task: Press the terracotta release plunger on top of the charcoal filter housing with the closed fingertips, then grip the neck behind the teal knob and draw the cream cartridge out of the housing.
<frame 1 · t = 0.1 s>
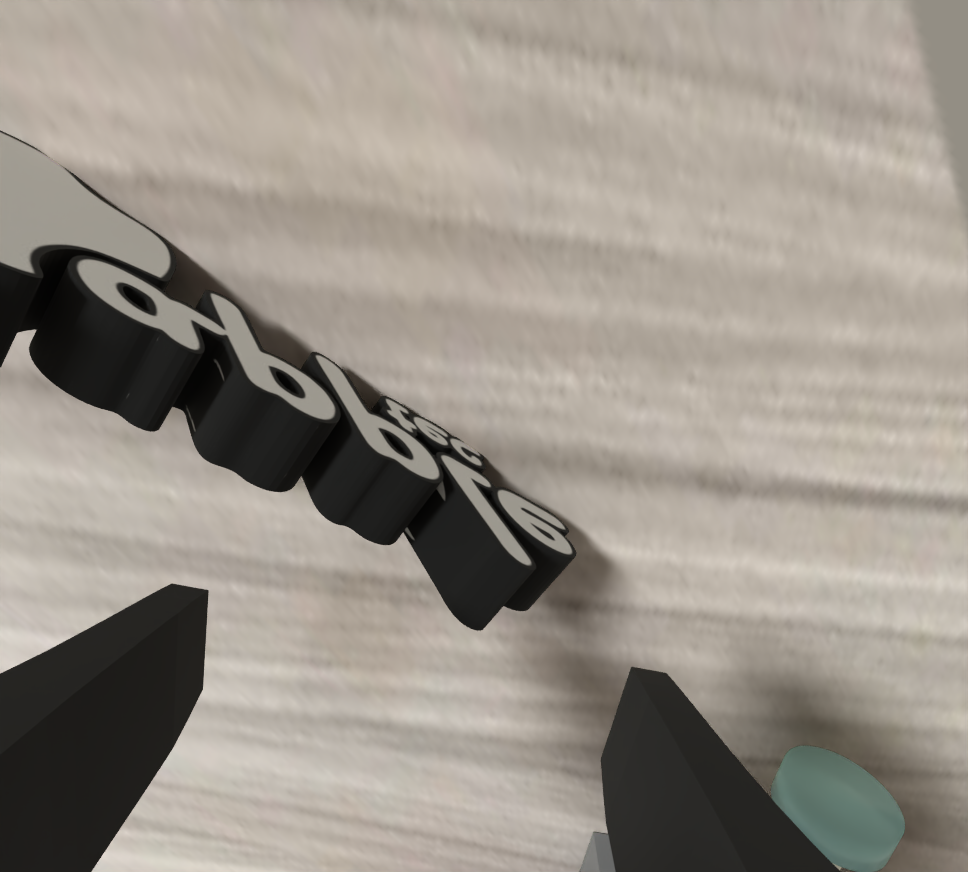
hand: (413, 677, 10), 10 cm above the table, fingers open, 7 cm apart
logo: (275, 349, 19), on the table
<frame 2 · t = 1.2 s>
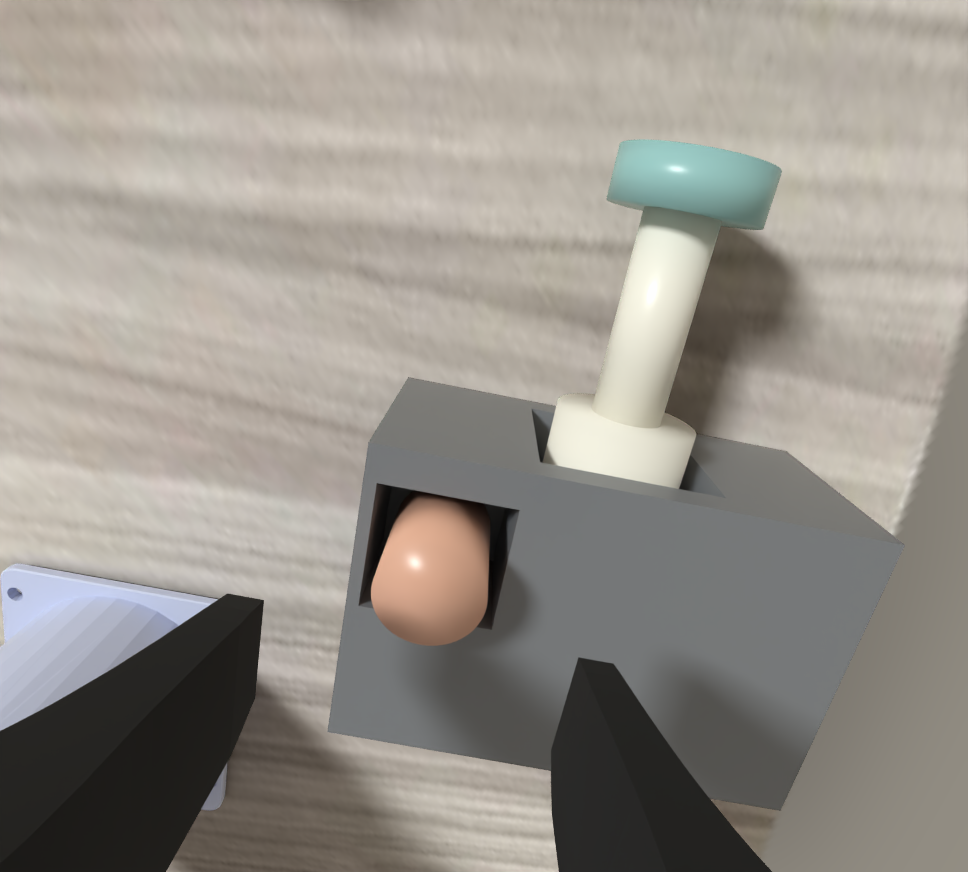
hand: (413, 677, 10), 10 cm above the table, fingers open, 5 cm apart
cartridge: (616, 447, 16), point 3 cm above the table, slide at 0.0 cm
plunger: (436, 557, 14), point 6 cm above the table, slide at 0.0 cm
housing: (569, 528, 20), on the table
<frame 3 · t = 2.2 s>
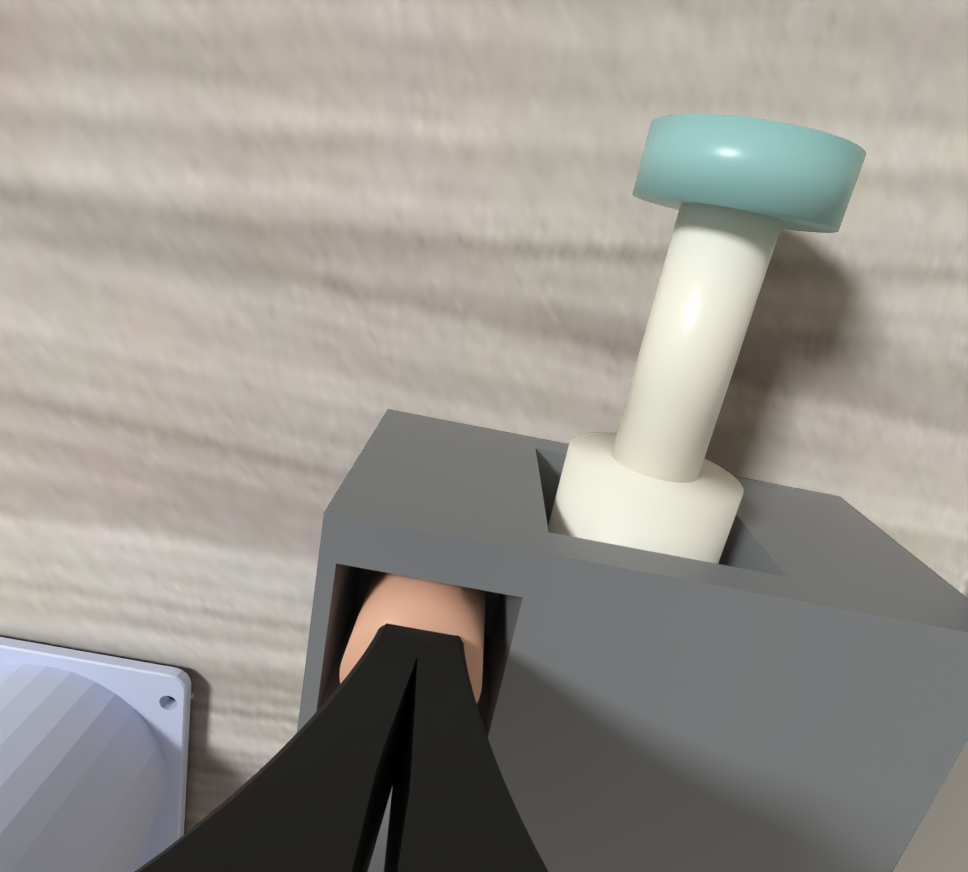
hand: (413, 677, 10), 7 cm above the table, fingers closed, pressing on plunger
cartridge: (642, 502, 13), point 3 cm above the table, slide at 0.0 cm
plunger: (422, 623, 12), point 5 cm above the table, slide at 0.9 cm, touching gripper
housing: (579, 585, 17), on the table
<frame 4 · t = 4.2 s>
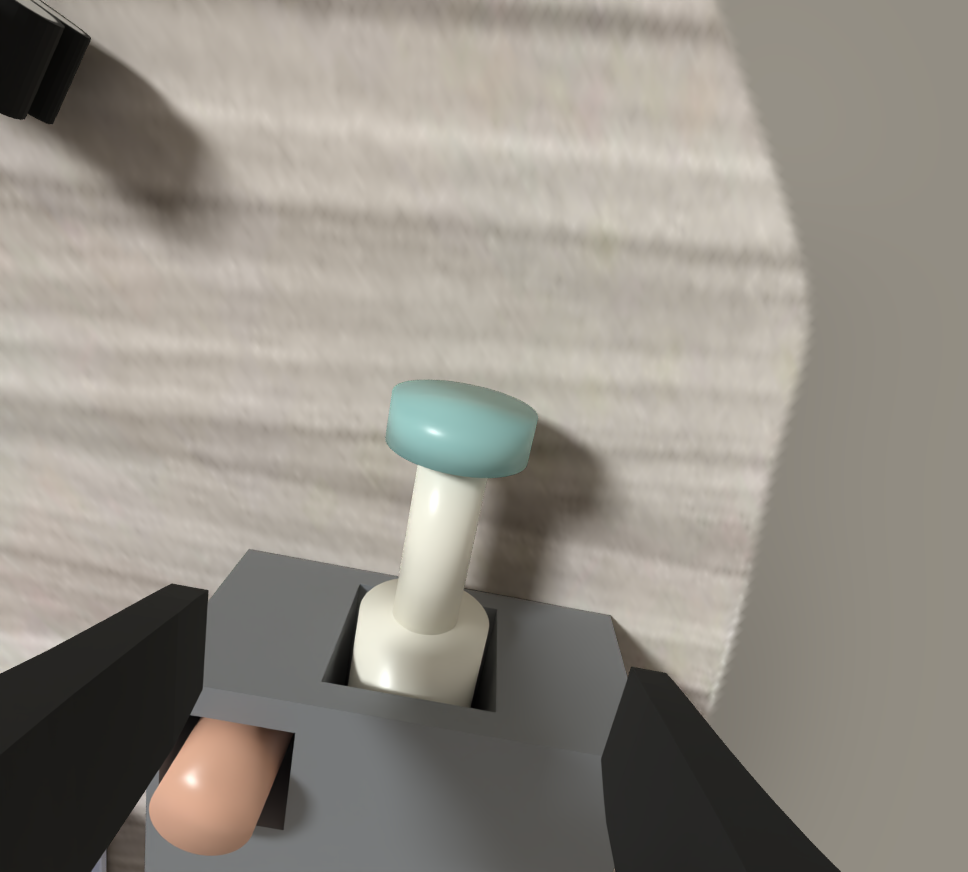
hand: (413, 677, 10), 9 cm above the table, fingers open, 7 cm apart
cartridge: (420, 640, 17), point 3 cm above the table, slide at 0.0 cm
plunger: (230, 759, 16), point 6 cm above the table, slide at 0.3 cm
housing: (412, 680, 22), on the table
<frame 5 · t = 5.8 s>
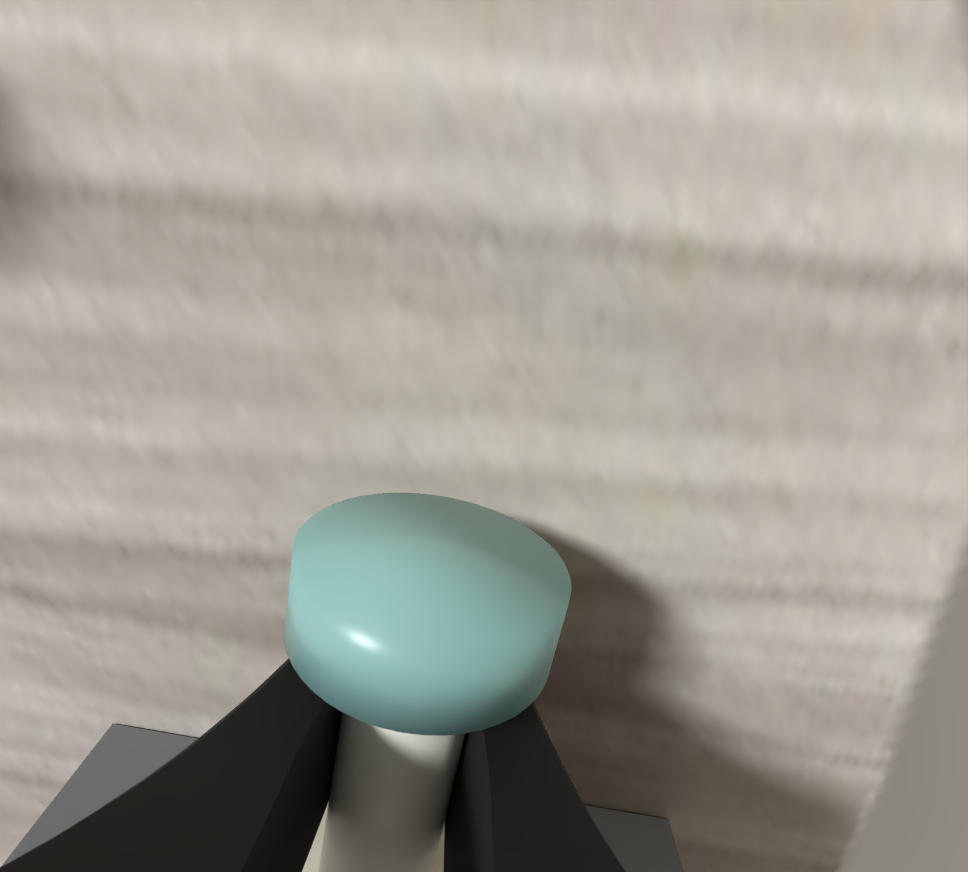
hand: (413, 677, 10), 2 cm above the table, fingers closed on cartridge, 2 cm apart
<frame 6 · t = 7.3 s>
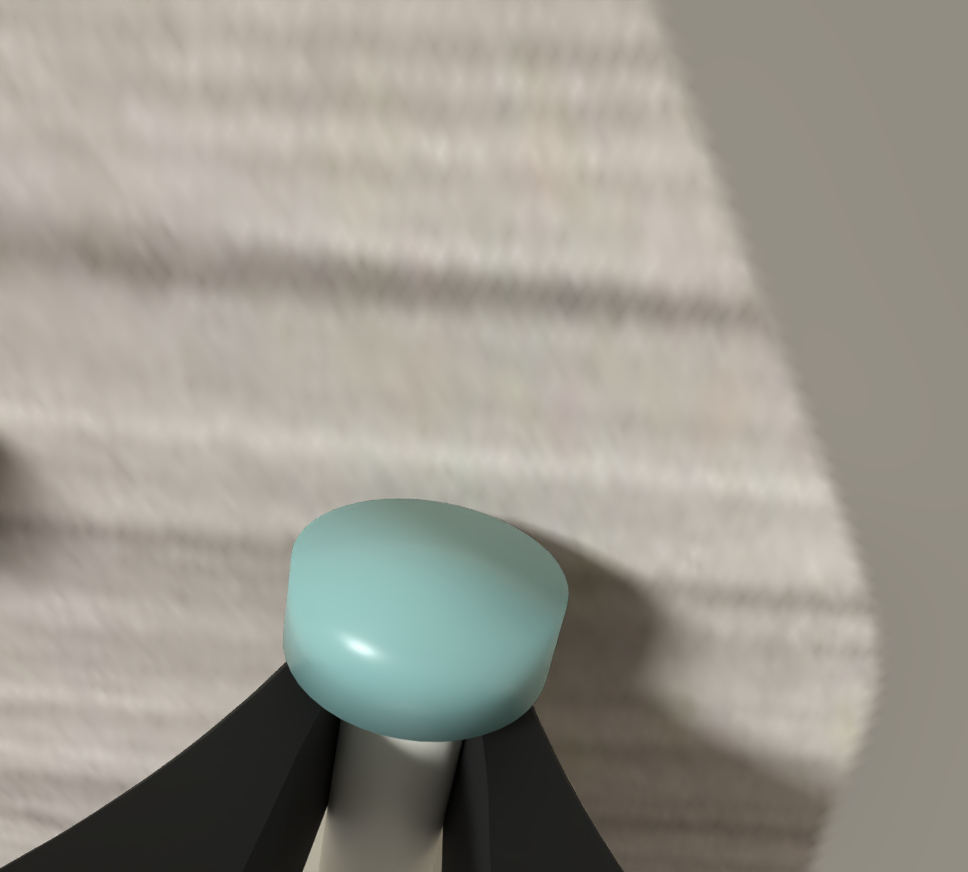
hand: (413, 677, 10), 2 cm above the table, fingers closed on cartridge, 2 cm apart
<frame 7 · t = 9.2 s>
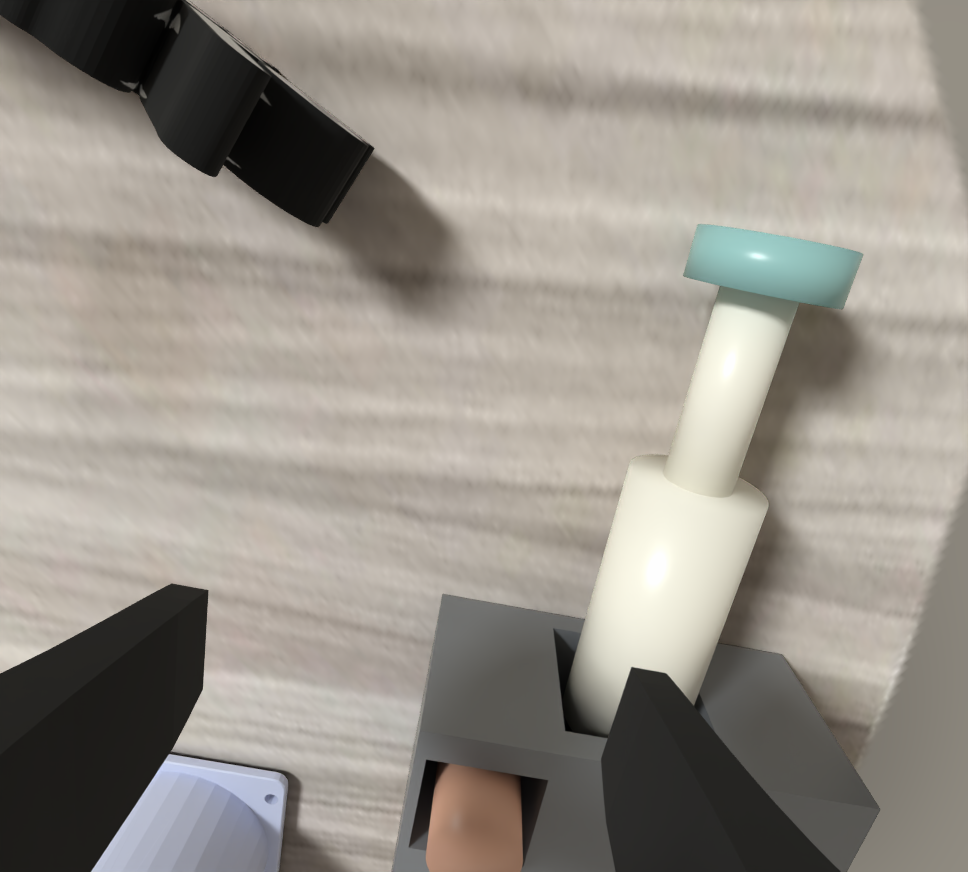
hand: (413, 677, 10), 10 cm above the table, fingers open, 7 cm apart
cartridge: (687, 512, 17), point 3 cm above the table, slide at 5.9 cm
plunger: (477, 802, 17), point 6 cm above the table, slide at 0.3 cm
housing: (586, 714, 23), on the table
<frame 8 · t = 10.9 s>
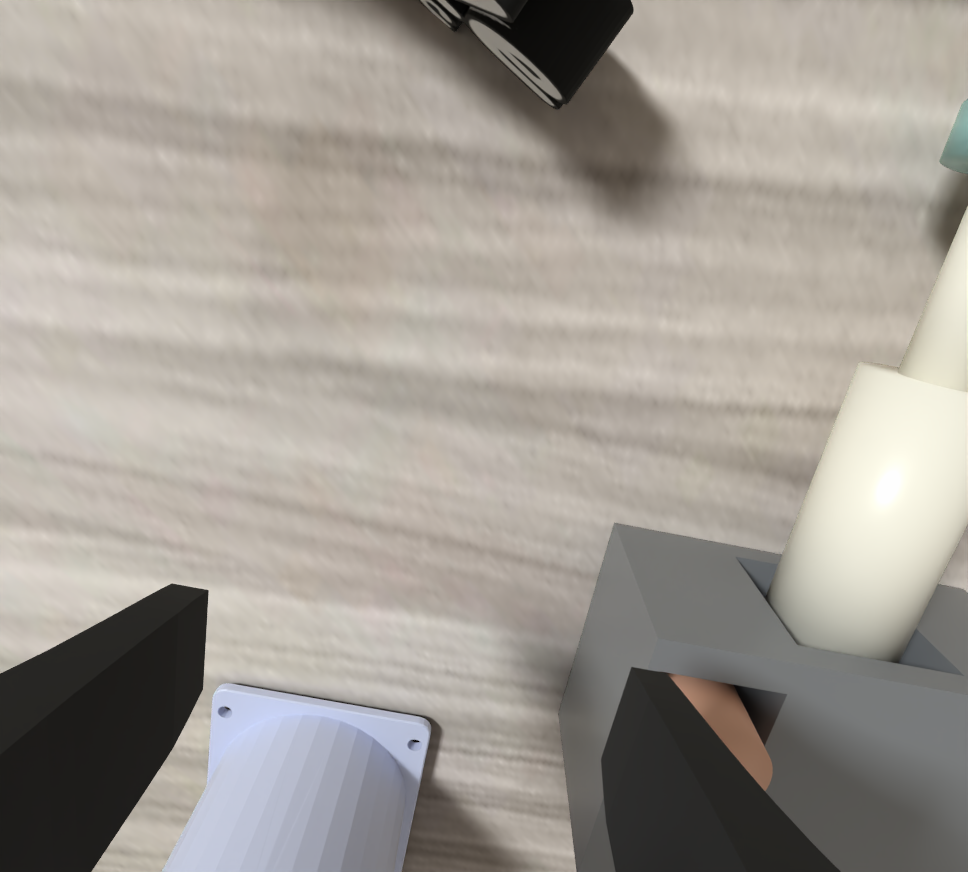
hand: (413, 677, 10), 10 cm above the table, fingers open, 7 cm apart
cartridge: (923, 416, 16), point 3 cm above the table, slide at 5.9 cm
plunger: (699, 722, 16), point 6 cm above the table, slide at 0.3 cm
housing: (750, 654, 22), on the table
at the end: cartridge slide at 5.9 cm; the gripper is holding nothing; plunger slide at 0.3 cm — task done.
